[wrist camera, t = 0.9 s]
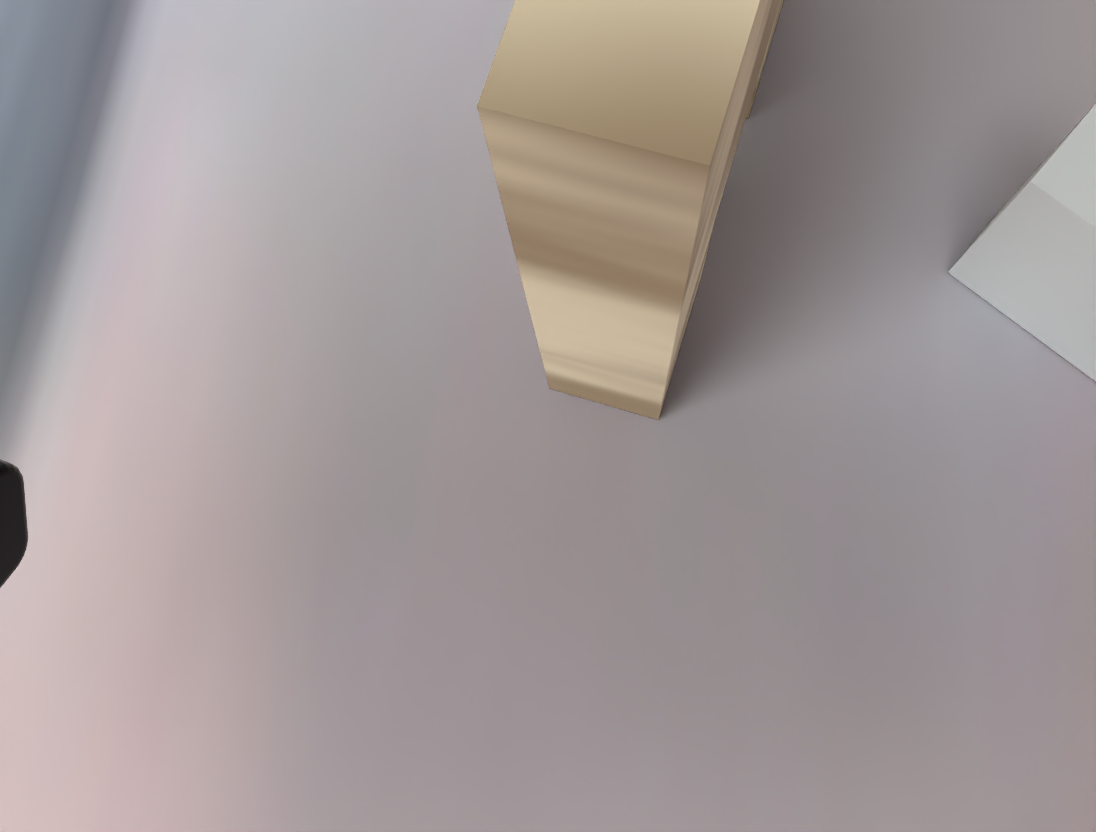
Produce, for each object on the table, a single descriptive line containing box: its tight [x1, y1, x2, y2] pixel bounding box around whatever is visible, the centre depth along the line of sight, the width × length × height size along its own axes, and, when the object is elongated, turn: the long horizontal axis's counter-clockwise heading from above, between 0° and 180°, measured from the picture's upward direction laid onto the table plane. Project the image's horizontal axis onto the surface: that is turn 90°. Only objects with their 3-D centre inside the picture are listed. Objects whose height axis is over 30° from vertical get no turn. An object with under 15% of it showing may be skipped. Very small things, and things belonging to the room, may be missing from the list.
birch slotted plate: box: [477, 0, 784, 420], centre depth 17 cm, size 12×2×12 cm, turn 163°
